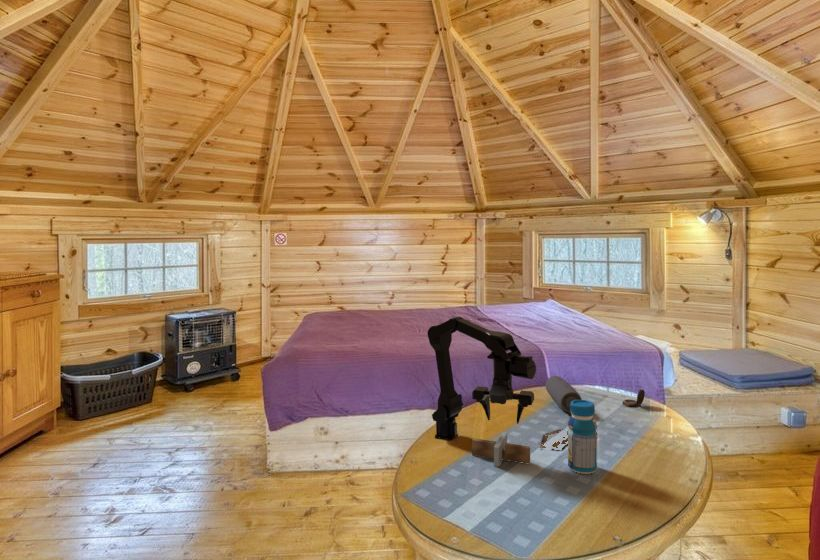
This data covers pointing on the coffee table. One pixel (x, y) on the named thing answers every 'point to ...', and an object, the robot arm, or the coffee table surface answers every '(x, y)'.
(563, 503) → the coffee table surface
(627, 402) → the compass
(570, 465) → the beverage bottle
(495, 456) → the tapered grey plank
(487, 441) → the stepped wooden block
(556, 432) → the wooden fragment
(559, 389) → the bluetooth speaker
